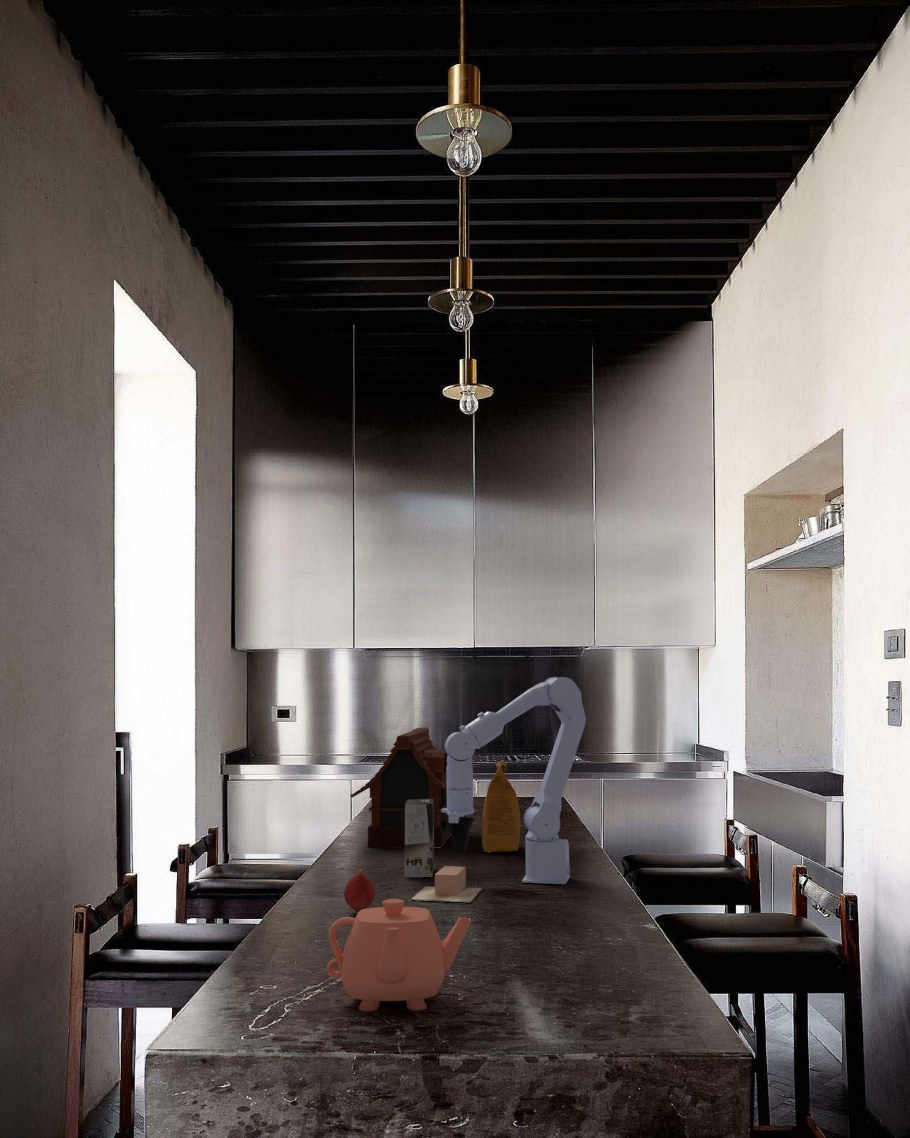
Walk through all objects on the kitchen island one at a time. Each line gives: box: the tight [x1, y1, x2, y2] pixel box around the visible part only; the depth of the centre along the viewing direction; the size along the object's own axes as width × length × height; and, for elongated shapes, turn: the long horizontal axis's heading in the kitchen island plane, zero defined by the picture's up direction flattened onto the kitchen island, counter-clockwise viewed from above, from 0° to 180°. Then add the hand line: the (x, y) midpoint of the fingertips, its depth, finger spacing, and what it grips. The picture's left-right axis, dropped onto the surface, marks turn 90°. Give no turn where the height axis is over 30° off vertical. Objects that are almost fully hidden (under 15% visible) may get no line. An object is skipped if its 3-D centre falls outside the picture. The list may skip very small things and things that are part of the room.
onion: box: [343, 869, 376, 914], centre depth 192 cm, size 6×6×8 cm
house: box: [349, 727, 451, 849], centre depth 277 cm, size 35×28×29 cm
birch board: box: [410, 885, 483, 902], centre depth 205 cm, size 12×12×1 cm
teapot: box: [326, 898, 472, 1012], centre depth 141 cm, size 16×17×14 cm
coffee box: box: [404, 799, 435, 878], centre depth 229 cm, size 9×6×16 cm
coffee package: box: [481, 760, 522, 854], centre depth 258 cm, size 10×12×22 cm
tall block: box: [434, 865, 467, 896], centre depth 209 cm, size 4×4×9 cm
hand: (460, 852), depth 218 cm, fingers closed
